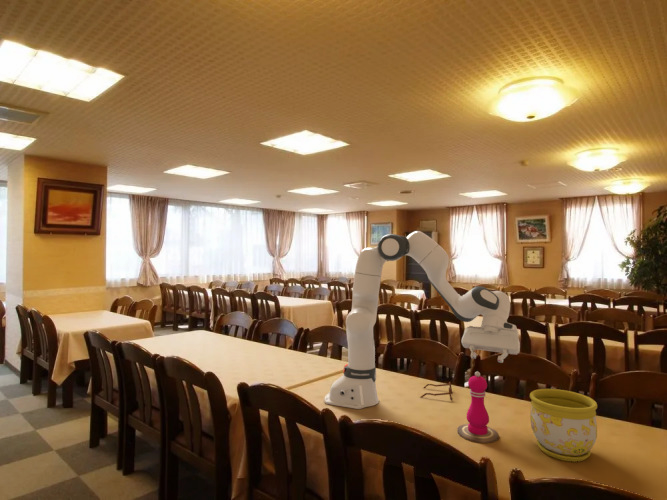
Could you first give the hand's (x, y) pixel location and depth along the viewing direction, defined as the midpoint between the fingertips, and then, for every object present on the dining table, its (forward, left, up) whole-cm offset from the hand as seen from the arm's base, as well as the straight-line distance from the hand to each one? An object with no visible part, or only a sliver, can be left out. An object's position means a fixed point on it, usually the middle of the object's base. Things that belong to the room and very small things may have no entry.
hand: (486, 359), depth 144 cm
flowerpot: (+20, -17, -23) cm, 35 cm away
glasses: (-17, +28, -23) cm, 40 cm away
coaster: (-4, -10, -23) cm, 25 cm away
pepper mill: (-4, -10, -22) cm, 24 cm away
